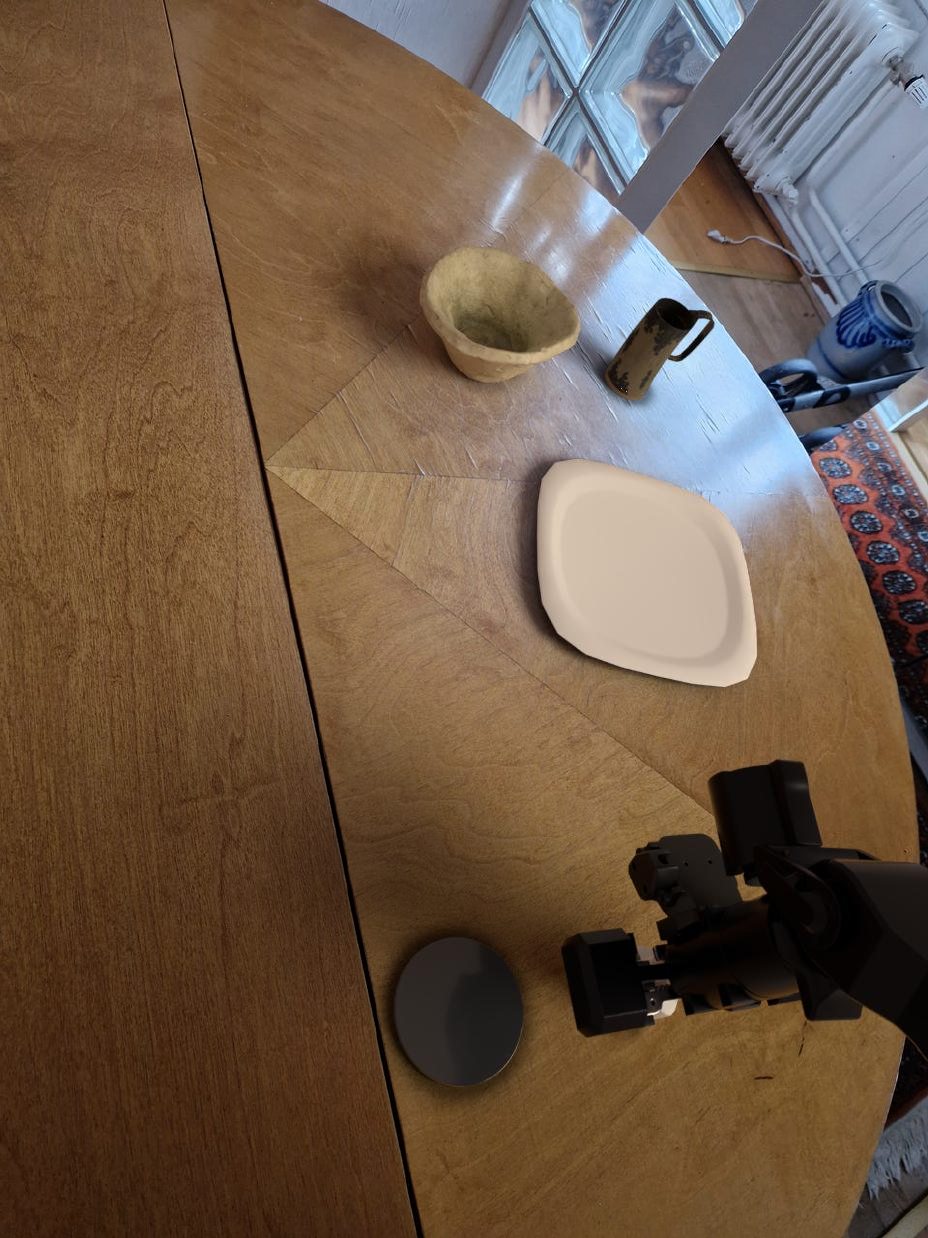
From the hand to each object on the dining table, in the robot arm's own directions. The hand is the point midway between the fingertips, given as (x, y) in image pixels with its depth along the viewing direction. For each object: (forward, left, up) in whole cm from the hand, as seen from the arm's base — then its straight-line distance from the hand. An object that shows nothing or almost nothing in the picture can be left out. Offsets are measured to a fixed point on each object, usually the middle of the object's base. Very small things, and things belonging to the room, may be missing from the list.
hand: (632, 987), depth 68 cm
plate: (+36, -20, -3) cm, 42 cm away
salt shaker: (0, 0, -3) cm, 3 cm away
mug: (+62, -31, -3) cm, 70 cm away
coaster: (+2, +13, -3) cm, 14 cm away
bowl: (+66, -11, -3) cm, 67 cm away
